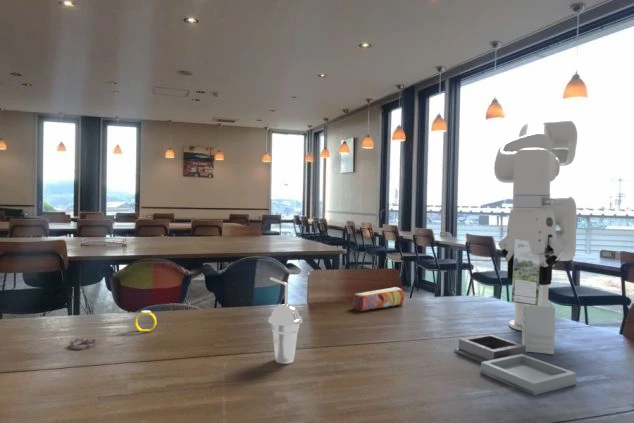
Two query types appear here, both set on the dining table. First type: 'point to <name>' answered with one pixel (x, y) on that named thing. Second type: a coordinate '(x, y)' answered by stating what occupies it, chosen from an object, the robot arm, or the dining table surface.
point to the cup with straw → (284, 329)
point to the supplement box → (538, 328)
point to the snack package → (378, 299)
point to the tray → (528, 374)
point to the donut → (82, 344)
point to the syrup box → (526, 275)
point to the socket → (488, 347)
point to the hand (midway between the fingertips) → (528, 280)
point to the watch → (145, 312)
